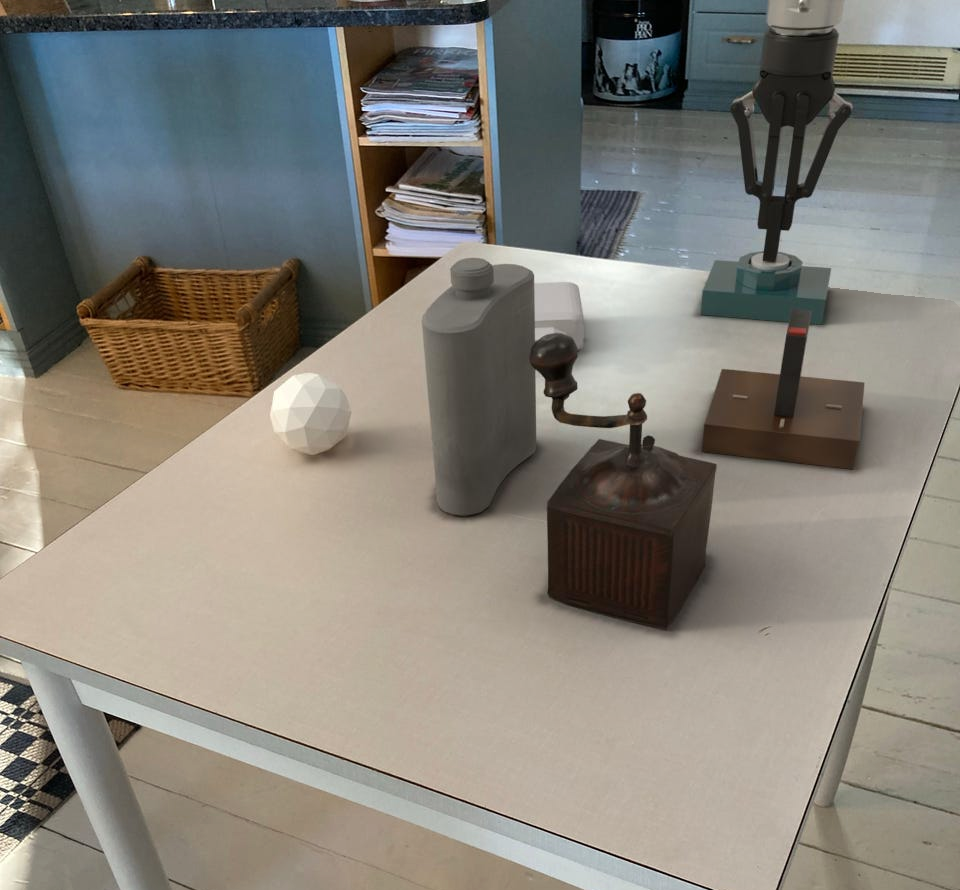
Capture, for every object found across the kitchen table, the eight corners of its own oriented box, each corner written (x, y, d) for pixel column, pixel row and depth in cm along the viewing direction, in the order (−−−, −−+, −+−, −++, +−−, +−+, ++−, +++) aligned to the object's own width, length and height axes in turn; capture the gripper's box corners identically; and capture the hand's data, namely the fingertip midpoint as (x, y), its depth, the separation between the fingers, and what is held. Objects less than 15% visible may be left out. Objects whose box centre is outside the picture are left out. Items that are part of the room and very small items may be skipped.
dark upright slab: (779, 387, 102) (792, 306, 96) (798, 388, 101) (812, 307, 96) (773, 415, 97) (786, 332, 92) (793, 417, 97) (807, 334, 92)
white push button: (788, 270, 124) (791, 253, 122) (785, 284, 121) (788, 267, 119) (751, 268, 125) (753, 251, 124) (747, 281, 122) (749, 264, 120)
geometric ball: (306, 481, 103) (248, 438, 97) (312, 419, 107) (256, 374, 101) (365, 453, 100) (308, 407, 94) (368, 390, 103) (314, 342, 98)
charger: (502, 379, 112) (501, 323, 124) (587, 376, 112) (578, 320, 124) (501, 338, 109) (500, 284, 121) (587, 334, 109) (578, 281, 120)
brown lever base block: (858, 409, 104) (865, 380, 102) (853, 469, 95) (859, 439, 93) (718, 395, 107) (721, 366, 105) (700, 451, 99) (704, 422, 97)
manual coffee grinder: (712, 556, 86) (737, 352, 74) (668, 633, 78) (688, 421, 67) (543, 515, 92) (542, 320, 80) (487, 583, 84) (476, 380, 73)
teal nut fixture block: (827, 292, 127) (834, 251, 123) (821, 325, 119) (828, 282, 116) (712, 283, 130) (716, 243, 127) (700, 314, 123) (704, 273, 120)
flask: (490, 433, 103) (481, 230, 91) (544, 443, 101) (542, 237, 88) (419, 508, 93) (398, 292, 81) (477, 522, 91) (464, 302, 78)
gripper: (733, 34, 105) (709, 264, 120) (866, 36, 102) (825, 272, 117) (742, 19, 110) (718, 242, 126) (869, 21, 107) (829, 249, 122)
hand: (770, 256), depth 121 cm, fingers closed
